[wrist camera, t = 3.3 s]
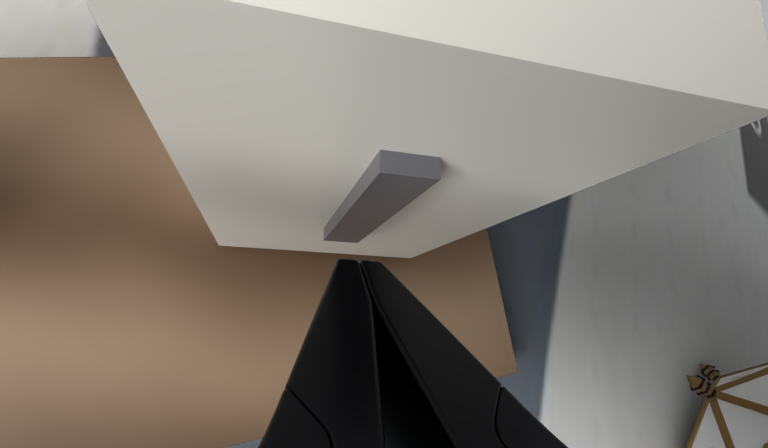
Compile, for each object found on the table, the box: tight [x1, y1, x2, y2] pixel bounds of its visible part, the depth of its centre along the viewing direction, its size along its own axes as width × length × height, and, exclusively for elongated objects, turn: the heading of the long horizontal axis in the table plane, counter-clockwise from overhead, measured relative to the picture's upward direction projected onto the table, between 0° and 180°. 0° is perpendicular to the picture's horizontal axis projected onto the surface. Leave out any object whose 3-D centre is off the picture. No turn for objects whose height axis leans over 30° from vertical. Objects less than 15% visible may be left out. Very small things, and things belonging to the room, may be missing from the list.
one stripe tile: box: [84, 0, 768, 258], centre depth 9 cm, size 2×6×11 cm, turn 88°
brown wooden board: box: [0, 57, 518, 448], centre depth 13 cm, size 12×26×1 cm, turn 100°
